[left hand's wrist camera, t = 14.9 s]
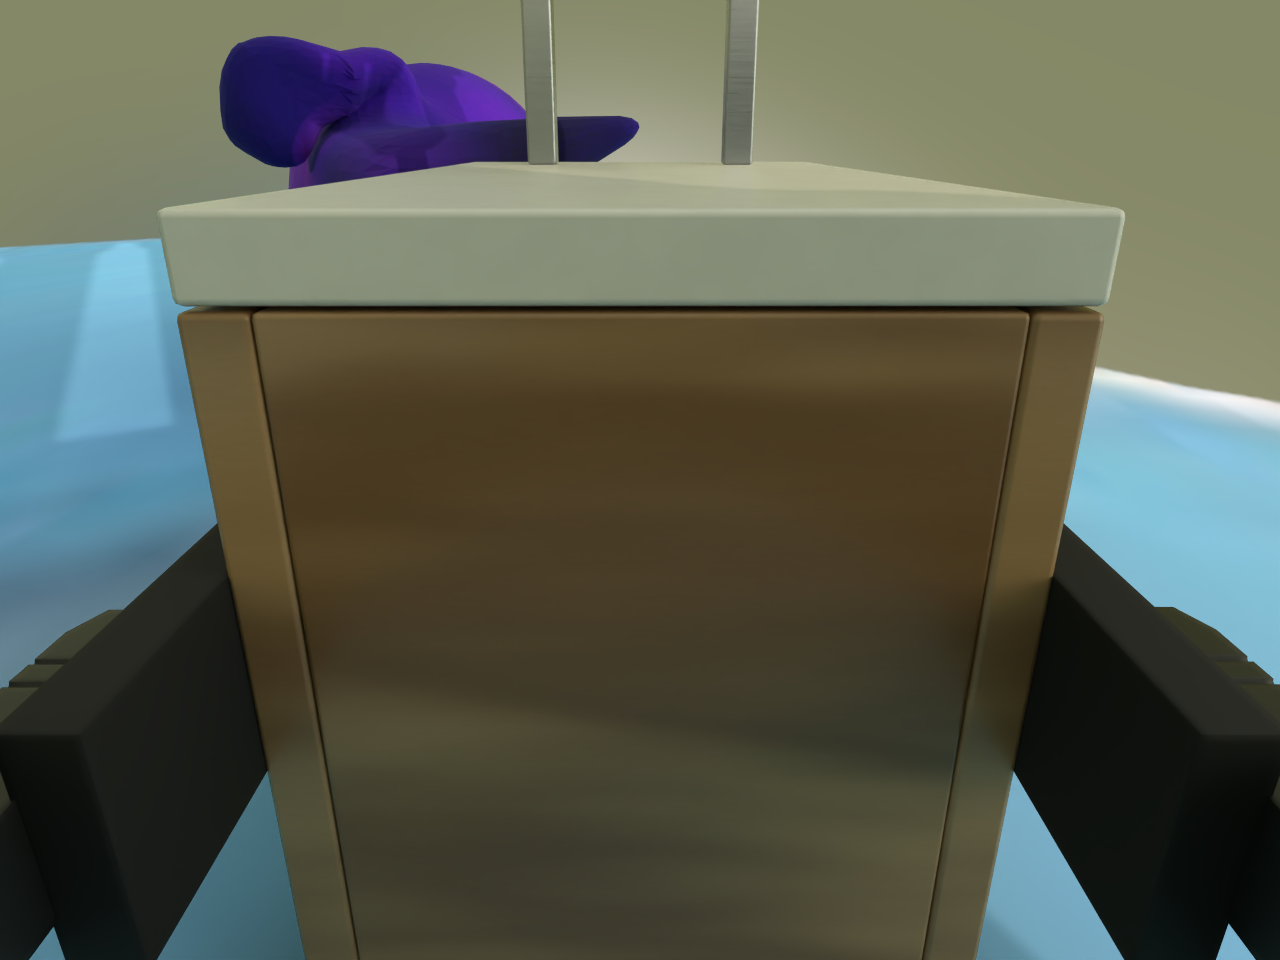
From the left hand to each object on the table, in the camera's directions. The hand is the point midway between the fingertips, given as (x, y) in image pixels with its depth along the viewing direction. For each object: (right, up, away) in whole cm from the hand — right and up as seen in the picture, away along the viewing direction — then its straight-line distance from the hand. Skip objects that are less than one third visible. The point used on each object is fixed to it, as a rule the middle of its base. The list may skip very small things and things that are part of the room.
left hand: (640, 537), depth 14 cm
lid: (0, +6, +3) cm, 6 cm away
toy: (-10, +7, +33) cm, 35 cm away
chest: (0, -4, +6) cm, 8 cm away
